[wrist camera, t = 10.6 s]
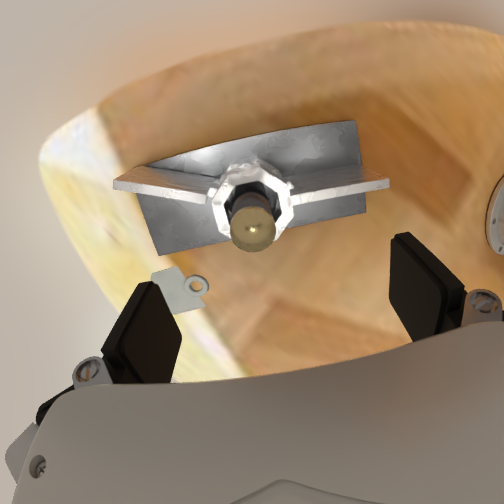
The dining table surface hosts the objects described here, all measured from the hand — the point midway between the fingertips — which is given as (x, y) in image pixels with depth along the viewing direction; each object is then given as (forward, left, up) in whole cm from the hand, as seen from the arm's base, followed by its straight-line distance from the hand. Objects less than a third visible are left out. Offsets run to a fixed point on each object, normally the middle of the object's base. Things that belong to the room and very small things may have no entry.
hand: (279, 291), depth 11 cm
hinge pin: (+1, 0, -16) cm, 16 cm away
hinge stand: (+1, 0, -17) cm, 17 cm away
